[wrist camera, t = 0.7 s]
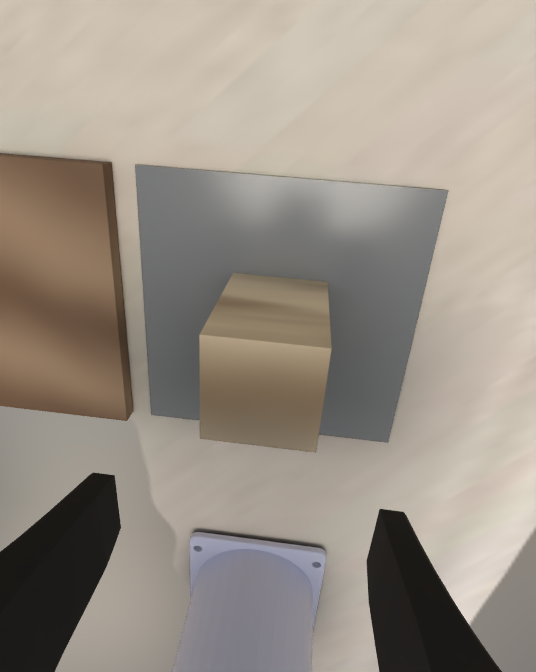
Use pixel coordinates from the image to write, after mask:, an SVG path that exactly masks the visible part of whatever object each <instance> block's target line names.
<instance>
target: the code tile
mask: <svg viewBox="0 0 536 672" xmlns="http://www.w3.org/2000/svg"><path fill="white" fill-rule="evenodd" d="M135 171H136V186H137V202H138V217H139V233H140V248H141V264H142V280H143V295H144V311H145V326H146V342H147V357H148V373H149V388H150V404H151V415H158V416H166V417H175V418H183V419H192V420H200V343H199V335H200V333H201V331H202V329H203V327H204V325H205V324H206V322H207V320H208V318H209V316H210V314H211V313H212V311H213V309H214V307H215V305H216V303H217V302H218V300H219V298H220V296H221V294H222V292H223V291H224V289H225V287H226V285H227V283H228V281H229V280H230V278H231V276H232V274H233V273H241V274H251V275H262V276H272V277H282V278H293V279H303V280H314V281H324V282H328V297H329V314H330V331H331V348H332V349H331V356H330V362H329V369H328V376H327V383H326V389H325V396H324V403H323V410H322V416H321V423H320V430H319V435H328V436H336V437H345V438H353V439H362V440H370V441H379V442H388V441H389V436H390V432H391V428H392V424H393V420H394V416H395V411H396V407H397V403H398V399H399V395H400V391H401V386H402V382H403V378H404V374H405V370H406V365H407V361H408V357H409V353H410V349H411V345H412V340H413V336H414V332H415V328H416V324H417V320H418V315H419V311H420V307H421V303H422V299H423V294H424V290H425V286H426V282H427V278H428V274H429V269H430V265H431V261H432V257H433V253H434V249H435V244H436V240H437V236H438V232H439V228H440V223H441V219H442V215H443V211H444V207H445V203H446V198H447V194H448V190H439V189H427V188H415V187H403V186H391V185H379V184H366V183H354V182H342V181H330V180H318V179H306V178H294V177H282V176H269V175H257V174H245V173H233V172H221V171H209V170H197V169H185V168H173V167H160V166H148V165H135Z"/></svg>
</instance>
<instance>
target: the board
mask: <svg viewBox="0 0 536 672" xmlns="http://www.w3.org/2000/svg"><path fill="white" fill-rule="evenodd" d="M0 406H6V407H15V408H24V409H31V410H41V411H49V412H57V413H66V414H74V415H83V416H90V417H99V418H107V419H116V420H124V421H127V420H128V418H129V417H130V415H131V414H132V412H133V407H132V395H131V384H130V372H129V361H128V349H127V338H126V326H125V315H124V303H123V292H122V280H121V269H120V257H119V246H118V234H117V223H116V211H115V200H114V188H113V177H112V165H111V162H100V161H88V160H76V159H63V158H51V157H39V156H27V155H15V154H3V153H0Z"/></svg>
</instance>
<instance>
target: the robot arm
mask: <svg viewBox="0 0 536 672" xmlns="http://www.w3.org/2000/svg"><path fill="white" fill-rule="evenodd" d="M120 529H121V525H120V517H119V509H118V501H117V493H116V484H115V476H114V475H107V474H99V473H92V474H91V475H89V476H88V477H87V478H86V479H85V480H84V481H83V482H81V483H80V484H79V485H78V486H77V487H76V488H75V489H74V490H73V491H71V492H70V493H69V494H68V495H67V496H66V497H65V498H64V499H63V500H61V501H60V502H59V503H58V504H57V505H56V506H55V507H54V508H52V509H51V510H50V511H49V512H48V513H47V514H46V515H44V516H43V517H42V518H41V519H40V520H39V521H37V522H36V523H35V524H34V525H33V526H31V527H30V528H29V529H28V530H27V531H26V532H24V533H23V534H22V535H21V536H20V537H18V538H17V539H16V540H15V541H14V542H12V543H11V544H10V545H8V546H7V547H6V548H5V549H3V550H2V551H1V552H0V672H55V669H56V667H57V665H58V663H59V661H60V659H61V657H62V654H63V652H64V650H65V648H66V646H67V644H68V642H69V640H70V638H71V636H72V634H73V632H74V630H75V628H76V626H77V624H78V622H79V620H80V619H81V616H82V615H83V613H84V611H85V609H86V607H87V605H88V603H89V601H90V599H91V597H92V595H93V593H94V591H95V589H96V587H97V585H98V583H99V580H100V579H101V577H102V575H103V573H104V570H105V568H106V566H107V564H108V561H109V559H110V556H111V553H112V551H113V548H114V545H115V542H116V540H117V537H118V534H119V531H120ZM325 564H326V552H325V551H324V550H323V549H321V548H316V547H309V546H301V545H294V544H286V543H279V542H271V541H264V540H256V539H249V538H241V537H234V536H226V535H219V534H211V533H204V532H195V533H193V534H192V535H191V538H190V589H191V601H190V605H189V608H188V612H187V616H186V620H185V623H184V627H183V631H182V635H181V639H180V642H179V646H178V650H177V654H176V658H175V662H174V665H173V669H172V672H312V633H313V627H314V622H315V617H316V611H317V606H318V601H319V596H320V590H321V585H322V580H323V574H324V569H325ZM367 576H368V595H369V606H370V613H371V620H372V627H373V633H374V640H375V646H376V653H377V659H378V665H379V672H502V671H501V670H500V669H499V667H498V666H497V665H496V663H495V662H494V661H493V659H492V658H491V657H490V655H489V654H488V652H487V651H486V649H485V648H484V647H483V645H482V644H481V642H480V641H479V639H478V638H477V636H476V635H475V634H474V632H473V630H472V629H471V627H470V626H469V624H468V623H467V621H466V620H465V618H464V617H463V615H462V614H461V612H460V610H459V609H458V607H457V606H456V604H455V603H454V601H453V599H452V598H451V596H450V594H449V593H448V591H447V589H446V588H445V586H444V584H443V583H442V581H441V579H440V578H439V576H438V574H437V572H436V571H435V569H434V567H433V565H432V564H431V562H430V560H429V558H428V556H427V555H426V553H425V551H424V549H423V547H422V545H421V544H420V542H419V540H418V538H417V536H416V534H415V532H414V530H413V528H412V526H411V524H410V522H409V520H408V518H407V516H406V515H405V513H404V512H400V511H392V510H384V509H380V510H379V514H378V518H377V522H376V526H375V530H374V534H373V538H372V542H371V546H370V550H369V554H368V558H367Z"/></svg>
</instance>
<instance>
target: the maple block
mask: <svg viewBox="0 0 536 672" xmlns="http://www.w3.org/2000/svg"><path fill="white" fill-rule="evenodd" d="M199 343H200V439H208V440H216V441H224V442H233V443H241V444H249V445H258V446H266V447H274V448H283V449H291V450H299V451H308V452H316V450H317V443H318V437H319V430H320V423H321V416H322V410H323V403H324V396H325V389H326V383H327V376H328V369H329V362H330V356H331V349H332V348H331V331H330V314H329V297H328V282H324V281H314V280H303V279H293V278H282V277H272V276H262V275H251V274H241V273H233V274H232V276H231V278H230V280H229V281H228V283H227V285H226V287H225V289H224V291H223V292H222V294H221V296H220V298H219V300H218V302H217V303H216V305H215V307H214V309H213V311H212V313H211V314H210V316H209V318H208V320H207V322H206V324H205V325H204V327H203V329H202V331H201V333H200V335H199Z"/></svg>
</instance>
